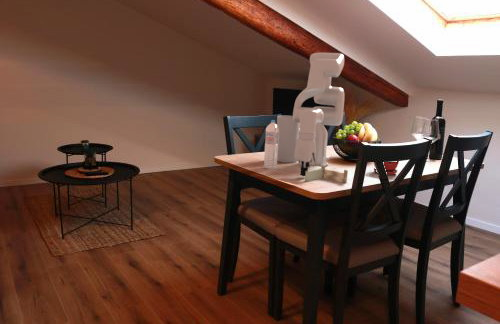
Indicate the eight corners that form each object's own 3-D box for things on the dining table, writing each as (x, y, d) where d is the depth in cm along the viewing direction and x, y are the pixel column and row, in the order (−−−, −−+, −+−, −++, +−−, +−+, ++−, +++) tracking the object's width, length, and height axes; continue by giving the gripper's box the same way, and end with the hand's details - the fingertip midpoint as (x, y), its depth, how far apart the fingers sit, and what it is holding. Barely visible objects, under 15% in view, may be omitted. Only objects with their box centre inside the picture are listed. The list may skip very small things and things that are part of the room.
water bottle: (260, 168, 216) (263, 119, 210) (270, 166, 220) (273, 119, 215) (269, 171, 211) (272, 121, 205) (279, 169, 215) (282, 120, 210)
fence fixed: (319, 177, 199) (320, 165, 198) (321, 177, 200) (323, 164, 199) (345, 183, 190) (346, 170, 188) (347, 183, 191) (348, 170, 190)
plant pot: (392, 170, 224) (394, 148, 222) (401, 176, 212) (404, 153, 209) (367, 169, 224) (370, 147, 222) (375, 175, 211) (378, 152, 209)
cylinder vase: (297, 163, 231) (301, 118, 226) (275, 162, 231) (277, 117, 226) (295, 159, 243) (299, 116, 238) (274, 158, 243) (277, 115, 238)
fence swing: (319, 177, 198) (320, 168, 197) (322, 178, 197) (322, 168, 196) (304, 180, 191) (305, 171, 190) (307, 181, 189) (307, 171, 188)
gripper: (289, 134, 196) (287, 172, 200) (312, 139, 184) (309, 179, 188) (301, 133, 200) (299, 171, 204) (324, 138, 189) (321, 178, 192)
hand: (303, 175), depth 196 cm, fingers closed
